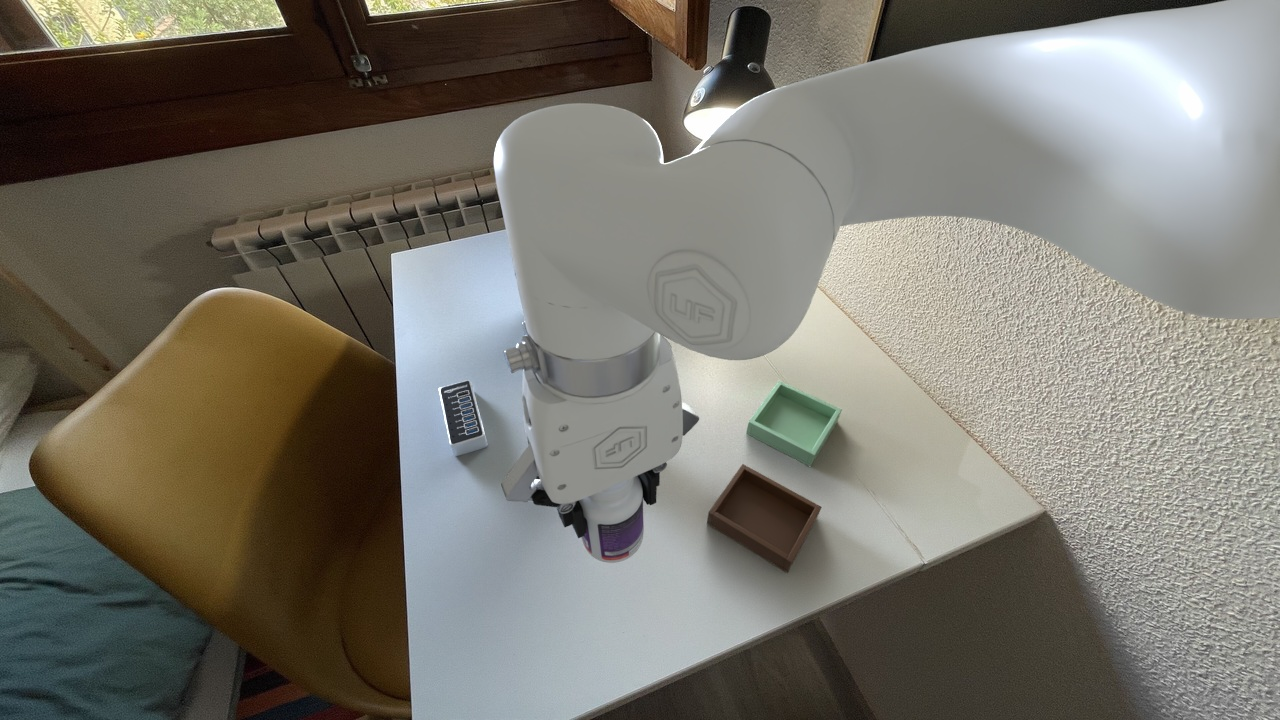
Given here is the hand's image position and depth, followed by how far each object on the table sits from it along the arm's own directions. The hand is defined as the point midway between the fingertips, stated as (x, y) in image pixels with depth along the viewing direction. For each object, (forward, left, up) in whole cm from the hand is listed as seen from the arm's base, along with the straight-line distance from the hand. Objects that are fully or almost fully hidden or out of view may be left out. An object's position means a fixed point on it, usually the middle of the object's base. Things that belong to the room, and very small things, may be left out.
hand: (610, 504), depth 44 cm
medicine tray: (-5, -32, -19) cm, 38 cm away
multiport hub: (+32, -7, -19) cm, 38 cm away
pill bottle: (0, 0, -5) cm, 5 cm away
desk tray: (-8, -17, -19) cm, 27 cm away
